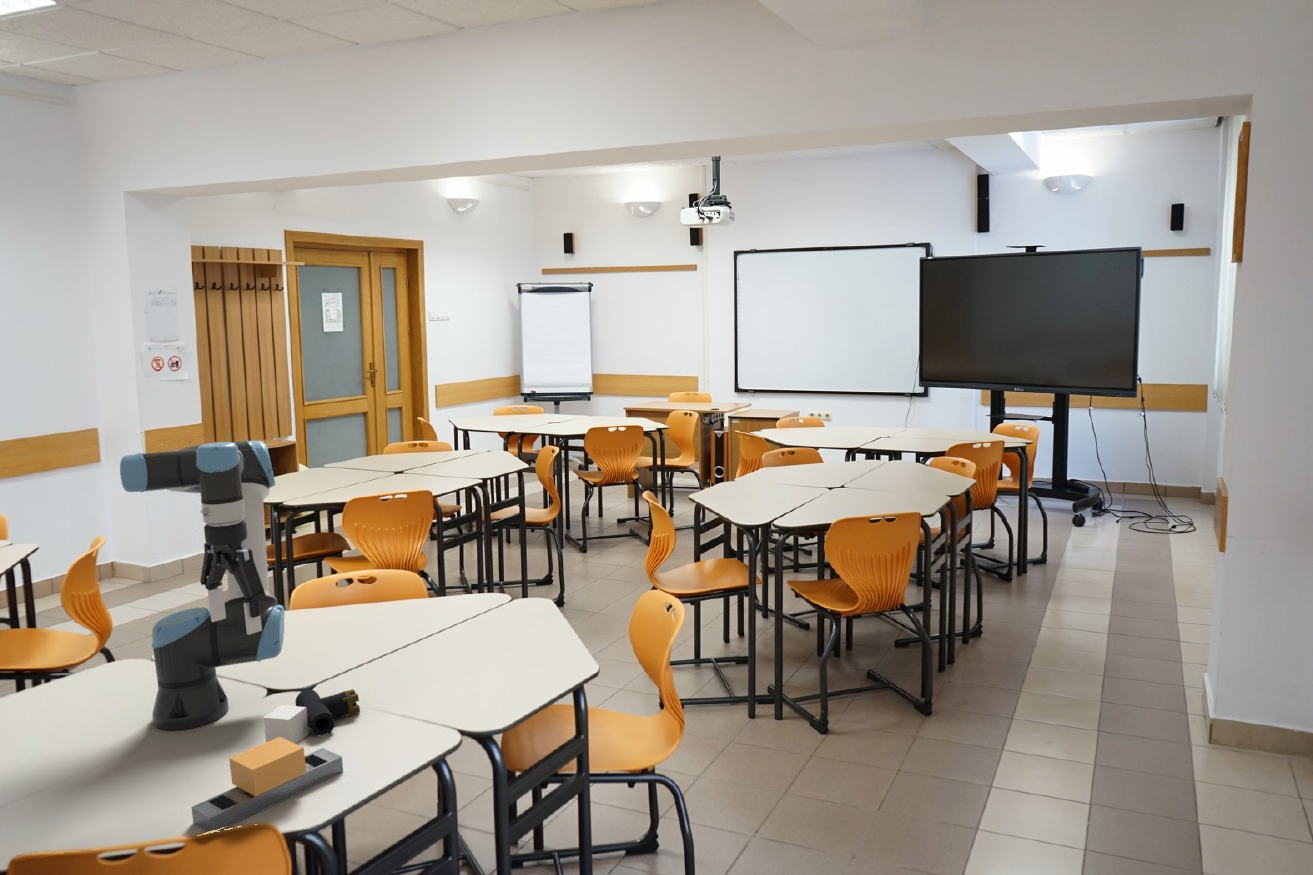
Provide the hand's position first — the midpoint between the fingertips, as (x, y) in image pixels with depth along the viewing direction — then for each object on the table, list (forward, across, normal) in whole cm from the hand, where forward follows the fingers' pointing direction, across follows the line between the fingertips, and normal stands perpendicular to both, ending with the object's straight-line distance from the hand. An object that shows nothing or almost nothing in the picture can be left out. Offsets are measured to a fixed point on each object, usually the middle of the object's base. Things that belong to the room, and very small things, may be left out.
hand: (236, 626), depth 188 cm
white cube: (+27, +1, +8) cm, 28 cm away
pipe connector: (+27, 0, +19) cm, 33 cm away
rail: (+27, +20, -7) cm, 34 cm away
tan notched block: (+27, +20, -7) cm, 34 cm away
